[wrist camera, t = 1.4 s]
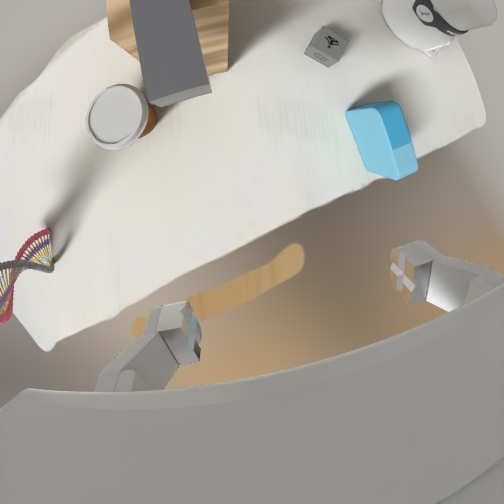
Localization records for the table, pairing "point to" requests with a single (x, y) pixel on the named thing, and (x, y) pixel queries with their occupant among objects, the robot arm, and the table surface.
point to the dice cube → (326, 47)
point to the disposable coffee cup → (119, 117)
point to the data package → (383, 139)
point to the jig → (206, 20)
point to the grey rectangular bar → (169, 51)
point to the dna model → (22, 266)
